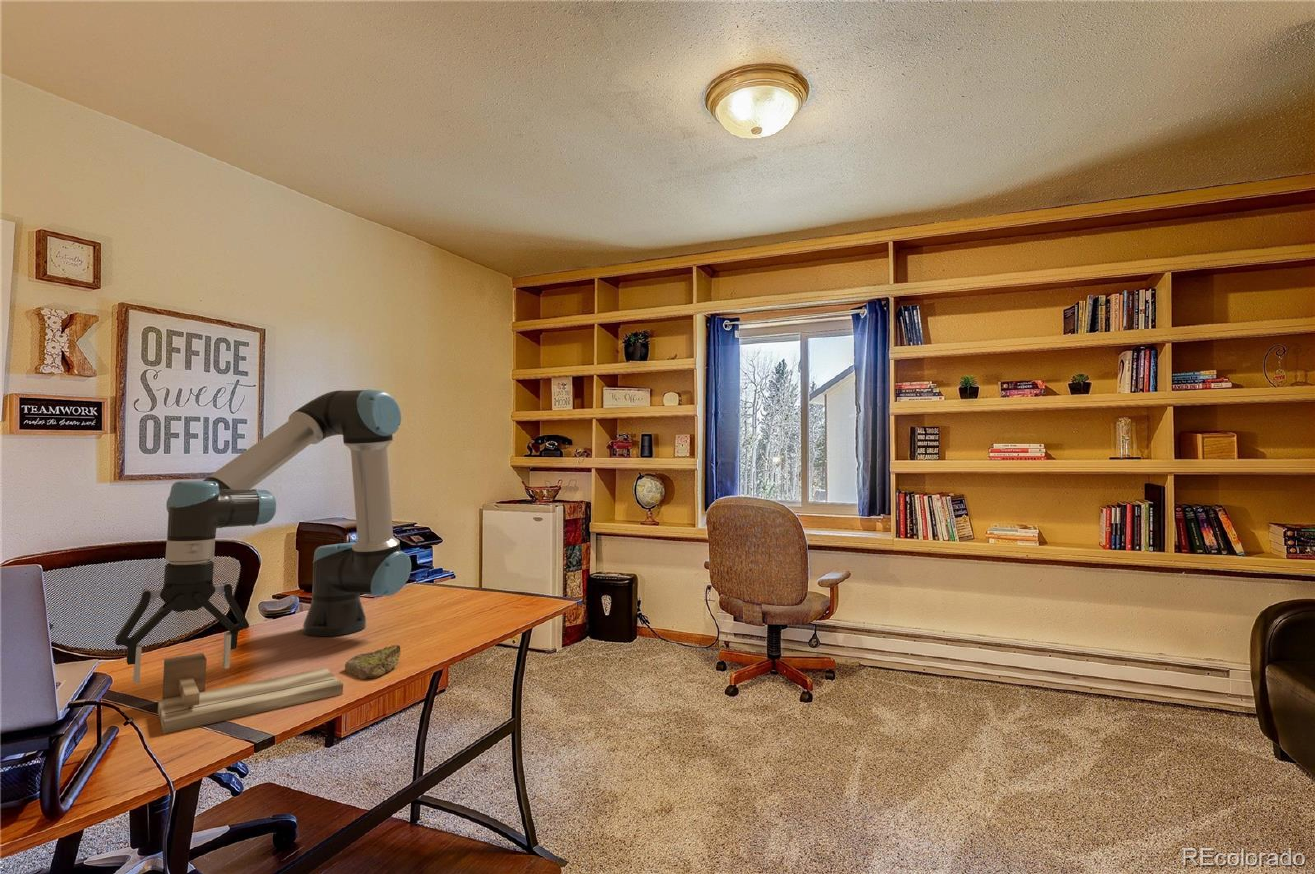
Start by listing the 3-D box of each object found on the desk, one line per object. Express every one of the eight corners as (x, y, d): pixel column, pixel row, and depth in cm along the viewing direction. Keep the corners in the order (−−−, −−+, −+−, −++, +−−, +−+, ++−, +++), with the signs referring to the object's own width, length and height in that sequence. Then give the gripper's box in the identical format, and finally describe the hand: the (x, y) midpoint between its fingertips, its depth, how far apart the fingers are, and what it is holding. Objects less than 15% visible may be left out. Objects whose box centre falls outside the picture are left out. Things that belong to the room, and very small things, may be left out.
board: (157, 711, 113) (158, 700, 113) (325, 677, 132) (326, 667, 132) (163, 734, 104) (164, 721, 104) (342, 694, 123) (343, 683, 123)
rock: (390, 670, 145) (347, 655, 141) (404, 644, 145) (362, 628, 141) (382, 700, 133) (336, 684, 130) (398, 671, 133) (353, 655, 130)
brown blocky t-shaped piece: (162, 701, 118) (164, 659, 118) (201, 693, 122) (203, 652, 122) (169, 728, 107) (172, 681, 107) (212, 718, 111) (214, 673, 111)
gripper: (103, 570, 108) (94, 694, 107) (269, 558, 125) (263, 666, 123) (102, 564, 113) (94, 682, 112) (261, 554, 130) (255, 656, 129)
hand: (182, 674), depth 118 cm, fingers open, 13 cm apart
